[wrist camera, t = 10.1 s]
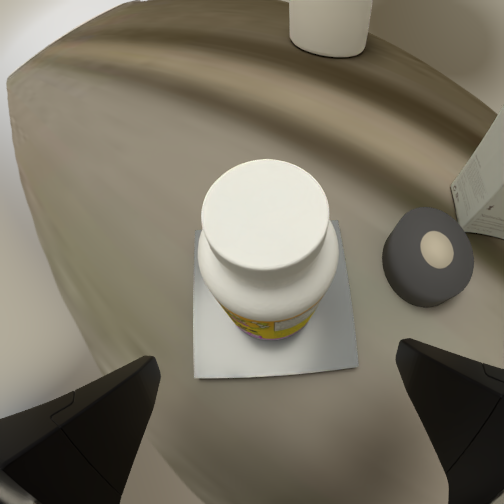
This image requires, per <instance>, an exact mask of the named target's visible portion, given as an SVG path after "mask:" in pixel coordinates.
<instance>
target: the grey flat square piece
mask: <svg viewBox="0 0 504 504" xmlns="http://www.w3.org/2000/svg"><path fill="white" fill-rule="evenodd" d="M331 223H332V225H333V227H334V229H335V232H336V235H337V240H338V249H339V256H338V264H337V269H336V272H335V275H334V278H333V280H332V282H331V284H330V286H329V288H328V290H327V291H326V293H325V295H324V296H323V298H322V300H321V301H320V303H319V305H318V306H317V308H316V310H315V311H314V313H313V315H312V316H311V318H310V319H309V321H308V322H307V323H306V325H305V326H304V327H303V328H301V329H300V330H299V331H298V332H296V333H294V334H293V335H291V336H289V337H286V338H283V339H279V340H263V339H258V338H255V337H252V336H250V335H248V334H247V333H245V332H244V331H242V330H241V329H240V328H239V327H238V326H237V325H236V324H235V323H234V322H233V321H232V320H231V318H230V317H229V316H228V314H227V313H226V312H225V311H224V309H223V308H222V307H221V305H220V304H219V303H218V301H217V300H216V299H215V298H214V296H213V295H212V293H211V292H210V291H209V289H208V288H207V286H206V284H205V282H204V280H203V277H202V275H201V272H200V268H199V263H198V243H199V238H200V235H201V231H202V230H195V249H194V298H193V338H194V378H243V377H265V376H280V375H293V374H304V373H314V372H323V371H331V370H339V369H346V368H353V367H359V365H358V354H357V344H356V334H355V326H354V317H353V310H352V302H351V295H350V288H349V281H348V275H347V269H346V262H345V256H344V251H343V245H342V240H341V234H340V229H339V224H338V220H331Z"/></svg>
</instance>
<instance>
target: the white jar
mask: <svg viewBox="0 0 504 504" xmlns="http://www.w3.org/2000/svg"><path fill="white" fill-rule="evenodd" d="M372 1H373V0H289V13H290V38H291V40H292V42H293V43H294V44H295V45H296V46H298V47H299V48H301V49H303V50H305V51H308V52H311V53H314V54H318V55H323V56H330V57H350V56H355V55H358V54H359V53H361V52H362V51H363V50H364V48H365V46H366V40H367V34H368V27H369V21H370V14H371V8H372Z"/></svg>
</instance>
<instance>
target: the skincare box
mask: <svg viewBox="0 0 504 504" xmlns="http://www.w3.org/2000/svg"><path fill="white" fill-rule="evenodd" d="M451 190H452V194H453V198H454V203H455V208H456V214H457V220H458V224H459V225H460V226H461V227H462V229H463V230H464V232H473V233H479V234H485V235H489V236H494V237H498V238H502V239H504V105H503V107H502V109H501V110H500V112H499V114H498V116H497V117H496V119H495V120H494V122H493V124H492V125H491V127H490V129H489V130H488V132H487V133H486V135H485V137H484V138H483V140H482V141H481V143H480V144H479V146H478V147H477V149H476V150H475V152H474V153H473V155H472V156H471V158H470V159H469V160H468V162H467V163H466V165H465V166H464V168H463V169H462V170H461V172H460V173H459V175H458V176H457V177H456V179H455V180H454V181H453V183H452V184H451Z"/></svg>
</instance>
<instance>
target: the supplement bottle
mask: <svg viewBox="0 0 504 504" xmlns="http://www.w3.org/2000/svg"><path fill="white" fill-rule="evenodd" d="M201 219H202V227H203V229H202V231H201V235H200V238H199V243H198V263H199V268H200V272H201V275H202V277H203V280H204V282H205V284H206V286H207V288H208V289H209V291H210V292H211V293H212V295H213V296H214V298H215V299H216V300H217V301H218V303H219V304H220V305H221V307H222V308H223V309H224V311H225V312H226V313H227V314H228V316H229V317H230V318H231V320H232V321H233V322H234V323H235V324H236V325H237V326H238V327H239V328H240V329H241V330H242V331H244V332H245V333H247V334H248V335H250V336H252V337H255V338H258V339H263V340H279V339H283V338H286V337H289V336H291V335H293V334H294V333H296V332H298V331H299V330H300V329H301V328H303V327H304V326H305V325H306V323H307V322H308V321H309V319H310V318H311V316H312V315H313V313H314V311H315V310H316V308H317V306H318V305H319V303H320V301H321V300H322V298H323V296H324V295H325V293H326V291H327V290H328V288H329V286H330V284H331V282H332V280H333V278H334V275H335V272H336V269H337V264H338V256H339V249H338V240H337V235H336V232H335V229H334V227H333V225H332V223H331V221H330V219H329V205H328V201H327V198H326V195H325V193H324V191H323V189H322V188H321V186H320V184H319V183H318V182H317V181H316V180H315V179H314V178H313V177H312V176H311V175H310V174H309V173H307V172H306V171H305V170H303V169H302V168H300V167H298V166H296V165H293V164H291V163H288V162H284V161H279V160H271V159H262V160H254V161H249V162H246V163H243V164H240V165H238V166H235V167H234V168H232V169H230V170H228V171H227V172H226V173H224V174H223V175H222V176H221V177H220V178H218V179H217V180H216V181H215V182H214V184H213V185H212V186H211V188H210V189H209V191H208V193H207V194H206V197H205V199H204V202H203V206H202V212H201Z"/></svg>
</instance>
